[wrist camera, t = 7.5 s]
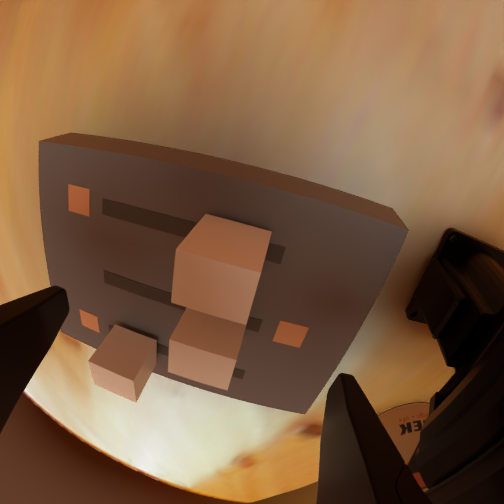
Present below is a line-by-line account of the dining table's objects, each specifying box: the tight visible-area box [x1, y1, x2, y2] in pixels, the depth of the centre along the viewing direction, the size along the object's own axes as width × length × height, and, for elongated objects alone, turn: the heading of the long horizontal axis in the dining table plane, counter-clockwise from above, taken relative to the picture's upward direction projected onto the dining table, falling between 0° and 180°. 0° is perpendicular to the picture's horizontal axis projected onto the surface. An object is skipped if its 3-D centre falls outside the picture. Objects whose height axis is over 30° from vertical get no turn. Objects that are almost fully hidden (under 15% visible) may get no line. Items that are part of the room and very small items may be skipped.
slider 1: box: [89, 324, 157, 402], centre depth 17 cm, size 3×2×4 cm
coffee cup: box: [378, 403, 430, 492], centre depth 18 cm, size 9×9×12 cm
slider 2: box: [171, 214, 272, 325], centre depth 12 cm, size 3×2×4 cm
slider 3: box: [168, 308, 248, 390], centre depth 14 cm, size 3×2×4 cm
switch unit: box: [39, 133, 409, 414], centre depth 18 cm, size 20×15×3 cm
